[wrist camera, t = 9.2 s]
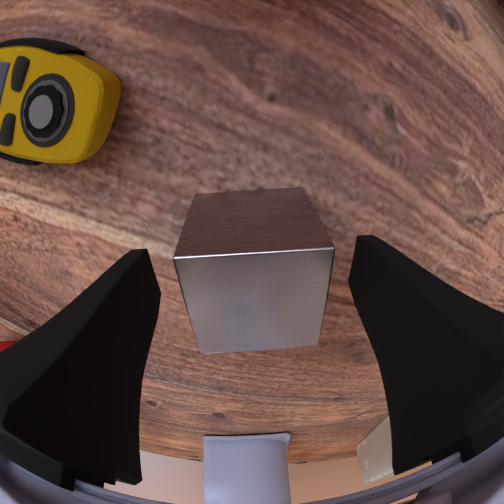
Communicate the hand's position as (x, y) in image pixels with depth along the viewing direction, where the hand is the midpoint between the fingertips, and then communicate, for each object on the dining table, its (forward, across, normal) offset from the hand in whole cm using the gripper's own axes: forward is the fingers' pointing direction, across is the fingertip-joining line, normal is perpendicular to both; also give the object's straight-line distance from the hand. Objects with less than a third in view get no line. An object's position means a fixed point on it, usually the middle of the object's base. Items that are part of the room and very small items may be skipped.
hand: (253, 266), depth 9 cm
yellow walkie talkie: (+2, +11, -9) cm, 14 cm away
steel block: (+2, 0, 0) cm, 2 cm away
